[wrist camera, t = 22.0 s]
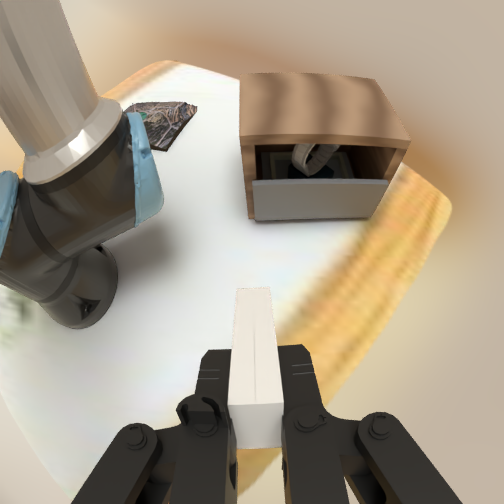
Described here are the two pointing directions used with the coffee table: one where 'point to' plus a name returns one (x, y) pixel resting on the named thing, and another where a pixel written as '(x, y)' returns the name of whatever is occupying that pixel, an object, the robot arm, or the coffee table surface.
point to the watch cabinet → (318, 122)
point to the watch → (311, 162)
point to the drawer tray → (313, 191)
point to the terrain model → (163, 121)
